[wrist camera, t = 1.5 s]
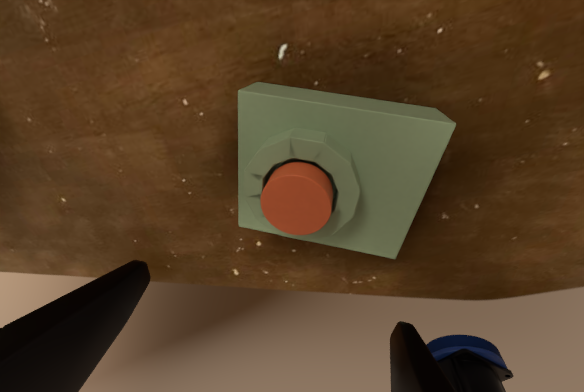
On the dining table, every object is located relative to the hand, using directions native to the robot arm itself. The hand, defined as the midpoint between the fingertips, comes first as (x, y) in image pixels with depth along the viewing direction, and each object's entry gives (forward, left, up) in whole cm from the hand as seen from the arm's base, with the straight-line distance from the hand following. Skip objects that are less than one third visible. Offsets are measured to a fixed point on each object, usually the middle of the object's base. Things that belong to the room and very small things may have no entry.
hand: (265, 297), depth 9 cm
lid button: (0, 0, -8) cm, 8 cm away
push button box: (-1, 0, -13) cm, 13 cm away
